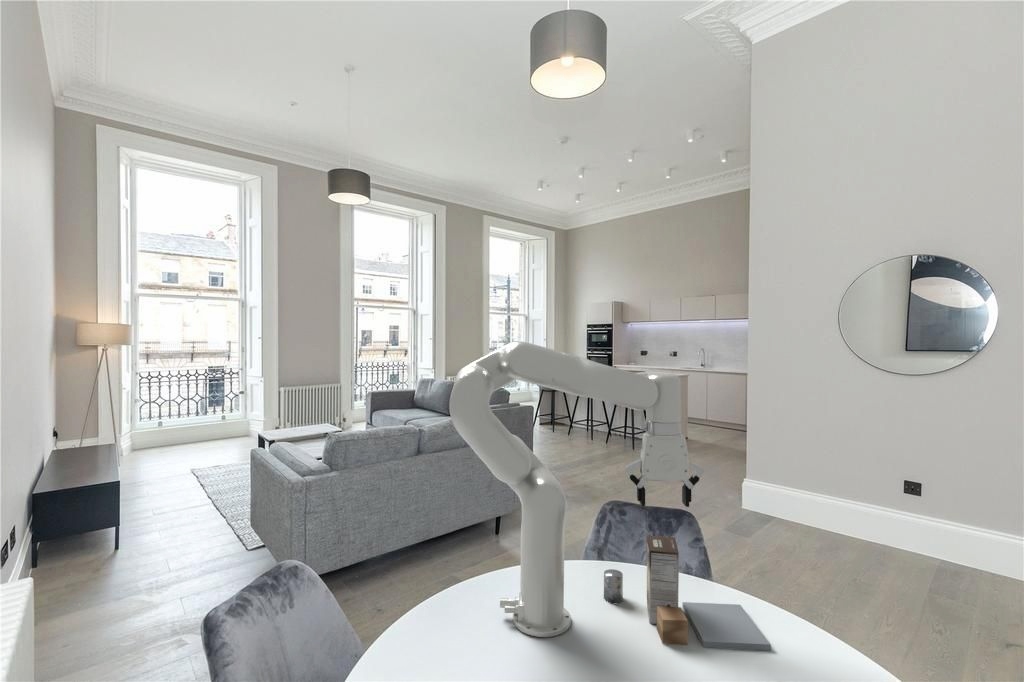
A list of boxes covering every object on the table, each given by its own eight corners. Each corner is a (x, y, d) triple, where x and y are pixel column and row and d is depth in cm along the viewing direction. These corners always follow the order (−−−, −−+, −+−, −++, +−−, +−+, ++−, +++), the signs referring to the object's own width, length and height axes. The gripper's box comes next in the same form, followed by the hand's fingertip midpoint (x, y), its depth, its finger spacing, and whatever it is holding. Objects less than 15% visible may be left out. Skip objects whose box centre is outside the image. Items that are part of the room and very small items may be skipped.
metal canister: (605, 603, 114) (605, 577, 114) (602, 593, 118) (602, 569, 118) (624, 603, 113) (624, 578, 113) (621, 594, 118) (621, 569, 118)
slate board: (703, 647, 97) (703, 641, 97) (682, 607, 112) (682, 602, 112) (770, 650, 96) (770, 644, 96) (740, 609, 111) (740, 604, 111)
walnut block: (662, 644, 98) (662, 619, 98) (656, 629, 103) (656, 606, 103) (687, 645, 98) (687, 620, 98) (680, 631, 103) (680, 607, 103)
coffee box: (645, 602, 114) (646, 534, 114) (674, 605, 113) (674, 536, 113) (648, 624, 105) (649, 549, 105) (679, 627, 104) (680, 552, 104)
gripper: (627, 431, 106) (628, 509, 106) (708, 432, 105) (708, 511, 105) (622, 425, 114) (622, 498, 114) (697, 426, 113) (697, 500, 112)
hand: (663, 504), depth 109 cm, fingers open, 9 cm apart
